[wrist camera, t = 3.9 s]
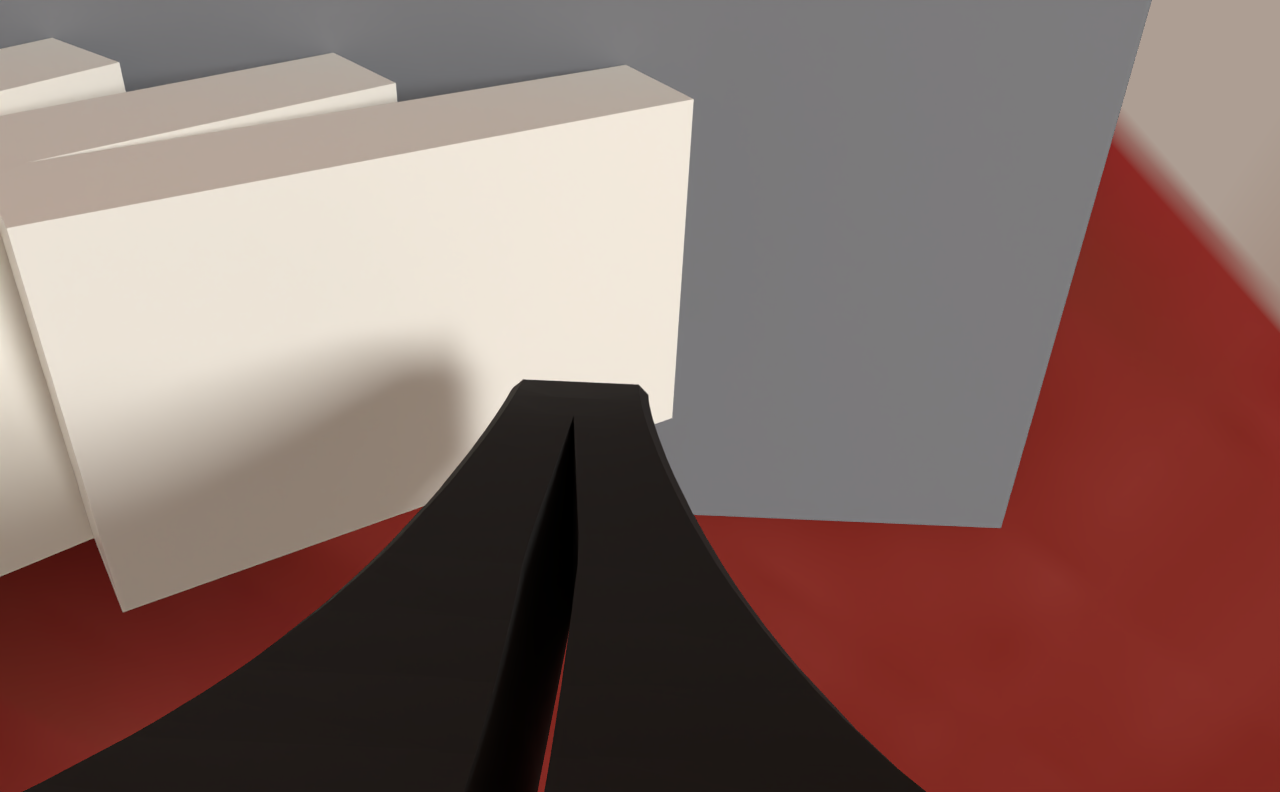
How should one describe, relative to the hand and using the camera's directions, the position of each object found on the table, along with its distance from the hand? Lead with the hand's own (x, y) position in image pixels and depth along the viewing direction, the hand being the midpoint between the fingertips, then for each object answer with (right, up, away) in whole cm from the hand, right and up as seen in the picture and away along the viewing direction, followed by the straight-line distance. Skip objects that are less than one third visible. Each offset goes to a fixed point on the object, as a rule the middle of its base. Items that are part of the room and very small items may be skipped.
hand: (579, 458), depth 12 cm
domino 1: (+1, +3, +4) cm, 5 cm away
